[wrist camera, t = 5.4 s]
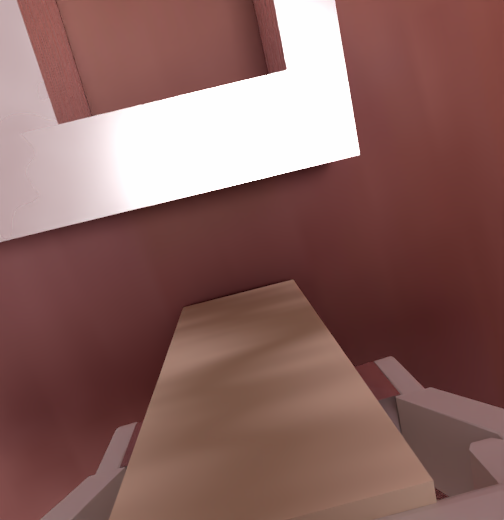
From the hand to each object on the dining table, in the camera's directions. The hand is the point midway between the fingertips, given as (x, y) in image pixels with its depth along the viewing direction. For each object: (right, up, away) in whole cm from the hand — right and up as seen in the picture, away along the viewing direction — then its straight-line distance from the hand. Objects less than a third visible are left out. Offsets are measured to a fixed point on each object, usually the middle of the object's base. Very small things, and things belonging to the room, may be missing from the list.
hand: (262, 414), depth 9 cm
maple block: (0, +1, +4) cm, 4 cm away
